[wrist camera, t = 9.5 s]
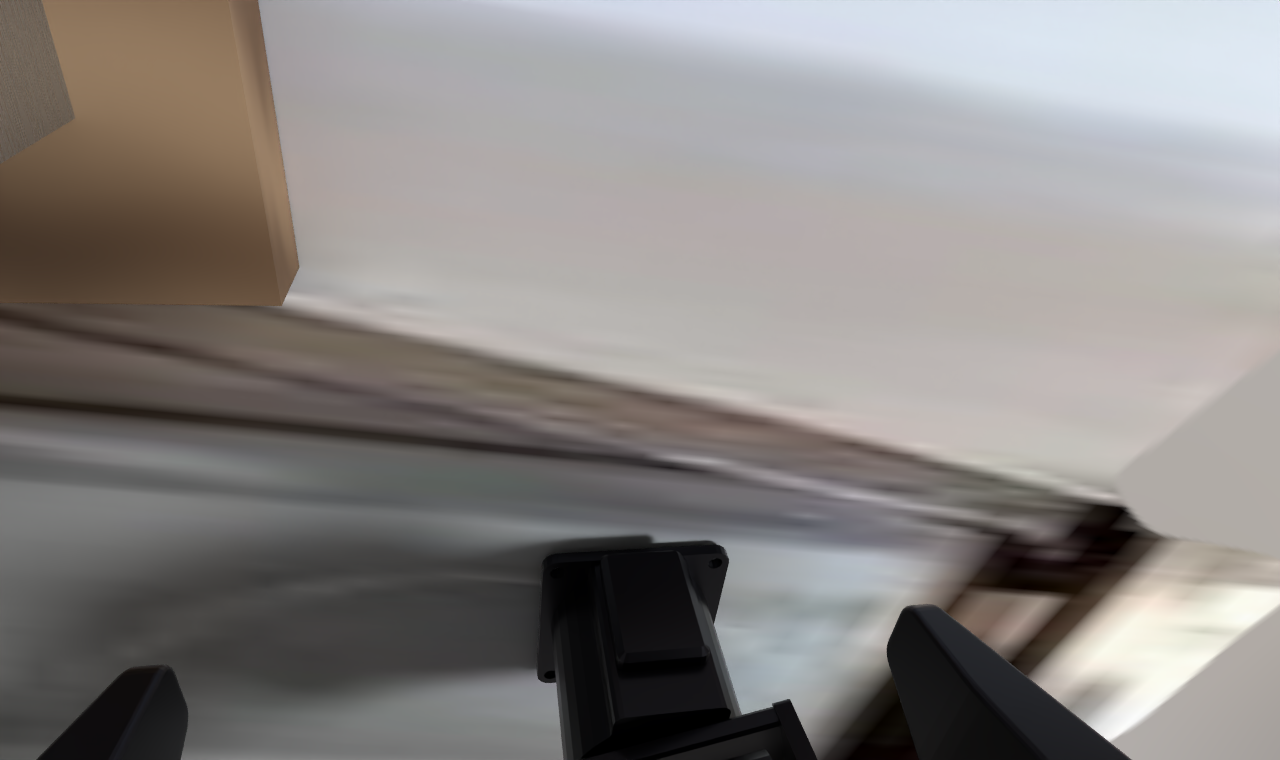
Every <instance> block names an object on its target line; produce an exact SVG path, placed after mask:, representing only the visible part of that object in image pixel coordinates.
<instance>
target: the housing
mask: <svg viewBox="0 0 1280 760" xmlns="http://www.w3.org/2000/svg"><path fill="white" fill-rule="evenodd" d="M73 119H75V115H74V111H73V108H72V104H71V101H70V97H69V94H68V90H67V87H66V83H65V80H64V76H63V73H62V69H61V66H60V63H59V59H58V56H57V52H56V49H55V45H54V42H53V38H52V35H51V31H50V28H49V24H48V21H47V17H46V14H45V10H44V7H43V3H42V0H0V164H1V163H2V162H4V161H6V160H7V159H9V158H11V157H12V156H14V155H16V154H17V153H19V152H21V151H22V150H24V149H26V148H27V147H29V146H30V145H32V144H34V143H35V142H37V141H39V140H40V139H42V138H44V137H45V136H47V135H49V134H50V133H52V132H54V131H55V130H57V129H58V128H60V127H62V126H63V125H65V124H67V123H68V122H70V121H72V120H73Z"/></svg>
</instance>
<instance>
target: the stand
mask: <svg viewBox="0 0 1280 760" xmlns="http://www.w3.org/2000/svg"><path fill="white" fill-rule="evenodd" d="M42 3H43V7H44V10H45V14H46V17H47V21H48V24H49V28H50V31H51V35H52V38H53V42H54V45H55V49H56V52H57V56H58V59H59V63H60V66H61V69H62V73H63V76H64V80H65V83H66V87H67V90H68V94H69V97H70V101H71V104H72V108H73V111H74V115H75V119H73V120H72V121H70V122H68V123H67V124H65V125H63V126H62V127H60V128H58V129H57V130H55V131H54V132H52V133H50V134H49V135H47V136H45V137H44V138H42V139H40V140H39V141H37V142H35V143H34V144H32V145H30V146H29V147H27V148H26V149H24V150H22V151H21V152H19V153H17V154H16V155H14V156H12V157H11V158H9V159H7V160H6V161H4V162H2V163H1V164H0V303H71V304H162V305H254V306H282V304H283V302H284V299H285V297H286V295H287V293H288V291H289V288H290V286H291V284H292V282H293V280H294V278H295V275H296V273H297V271H298V269H299V262H298V256H297V249H296V243H295V236H294V230H293V223H292V217H291V211H290V204H289V198H288V191H287V185H286V178H285V172H284V166H283V159H282V153H281V146H280V140H279V133H278V127H277V120H276V114H275V108H274V101H273V95H272V88H271V82H270V75H269V69H268V63H267V56H266V50H265V43H264V37H263V30H262V24H261V18H260V11H259V5H258V0H42Z"/></svg>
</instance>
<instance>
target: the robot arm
mask: <svg viewBox="0 0 1280 760" xmlns="http://www.w3.org/2000/svg"><path fill="white" fill-rule="evenodd" d="M712 559H714V560H712ZM728 564H729V558H728V556H727V553H726V550H725V549H724V547H722V546H720V545H705V546H687V547H669V548H651V549H633V550H616V551H598V552H580V553H562V554H554V555H550V556H548V557H547V558H546V559H545V560H544V561H543V563H542V572H541V592H540V612H539V632H538V653H537V676H538V679H539V680H540V681H541V682H545V683H555V682H556V684H557V695H558V706H559V716H560V727H561V737H562V748H563V758H564V760H817V758H816V755H815V753H814V751H813V749H812V747H811V744H810V742H809V740H808V738H807V736H806V733H805V731H804V729H803V727H802V725H801V722H800V720H799V718H798V716H797V714H796V712H795V709H794V707H793V705H792V703H791V701H790V699H787V700H783V701H780V702H776V703H772V706H773V707H770V708H766V709H763V710H759V711H755V712H751V713H748V714H744V715H742V714H741V711H740V708H739V704H738V701H737V698H736V695H735V691H734V688H733V685H732V682H731V679H730V675H729V672H728V669H727V666H726V663H725V659H724V656H723V653H722V650H721V646H720V643H719V640H718V637H717V634H716V630H715V627H714V621H715V617H716V613H717V609H718V605H719V601H720V597H721V593H722V588H723V584H724V580H725V576H726V572H727V568H728ZM555 568H560V569H555ZM887 658H888V663H889V666H890V669H891V672H892V676H893V679H894V682H895V685H896V688H897V691H898V695H899V698H900V701H901V704H902V707H903V711H904V714H905V717H906V720H907V723H908V726H909V730H910V733H911V736H912V739H913V742H914V746H915V749H916V752H917V755H918V758H919V760H1131V759H1130V758H1129V757H1127V756H1126V755H1125V754H1124V753H1123V752H1121V751H1120V750H1119V749H1118V748H1116V747H1115V746H1114V745H1112V744H1111V743H1110V742H1109V741H1107V740H1106V739H1105V738H1104V737H1102V736H1101V735H1100V734H1099V733H1097V732H1096V731H1095V730H1094V729H1092V728H1091V727H1090V726H1088V725H1087V724H1086V723H1085V722H1083V721H1082V720H1081V719H1080V718H1078V717H1077V716H1076V715H1075V714H1073V713H1072V712H1071V711H1070V710H1068V709H1067V708H1066V707H1065V706H1063V705H1062V704H1061V703H1059V702H1058V701H1057V700H1056V699H1054V698H1053V697H1052V696H1051V695H1049V694H1048V693H1047V692H1046V691H1044V690H1043V689H1042V688H1041V687H1039V686H1038V685H1037V684H1036V683H1034V682H1033V681H1032V680H1030V679H1029V678H1028V677H1027V676H1025V675H1024V674H1023V673H1022V672H1020V671H1019V670H1018V669H1017V668H1015V667H1014V666H1013V665H1012V664H1010V663H1009V662H1008V661H1007V660H1005V659H1004V658H1003V657H1001V656H1000V655H999V654H998V653H996V652H995V651H994V650H993V649H991V648H990V647H989V646H988V645H986V644H985V643H984V642H983V641H981V640H980V639H979V638H978V637H976V636H975V635H974V634H972V633H971V632H970V631H969V630H967V629H966V628H965V627H964V626H962V625H961V624H960V623H959V622H957V621H956V620H955V619H954V618H952V617H951V616H950V615H948V614H947V613H946V612H945V611H943V610H942V609H941V608H939V607H937V606H935V605H932V604H923V605H910V606H907V607H905V608H904V609H903V610H902V612H901V614H900V616H899V618H898V620H897V623H896V625H895V627H894V629H893V632H892V634H891V636H890V639H889V641H888V644H887ZM187 726H188V708H187V705H186V702H185V699H184V697H183V694H182V691H181V689H180V686H179V683H178V681H177V678H176V675H175V673H174V671H173V669H172V668H171V667H170V666H168V665H151V666H138V667H133V668H130V669H128V670H126V671H124V672H123V673H122V674H121V675H119V676H118V677H117V678H116V679H115V680H114V681H113V682H112V683H111V684H110V685H109V686H108V687H107V689H106V690H105V691H104V692H103V693H102V694H101V695H100V696H99V697H98V698H97V699H96V700H95V701H94V702H93V703H92V704H91V705H90V706H89V707H88V708H87V709H86V710H85V711H84V712H83V713H82V714H81V715H80V716H79V717H78V718H77V719H76V720H75V721H74V722H73V723H72V724H71V725H70V726H69V727H68V728H67V729H66V730H65V731H64V732H63V733H62V734H61V735H60V736H59V737H58V738H57V739H56V740H55V741H54V742H53V743H52V744H51V745H50V746H49V747H48V748H47V749H46V750H45V751H44V752H43V753H42V754H41V755H40V756H39V757H38V758H37V759H36V760H181V755H182V751H183V746H184V741H185V736H186V732H187Z"/></svg>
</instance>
